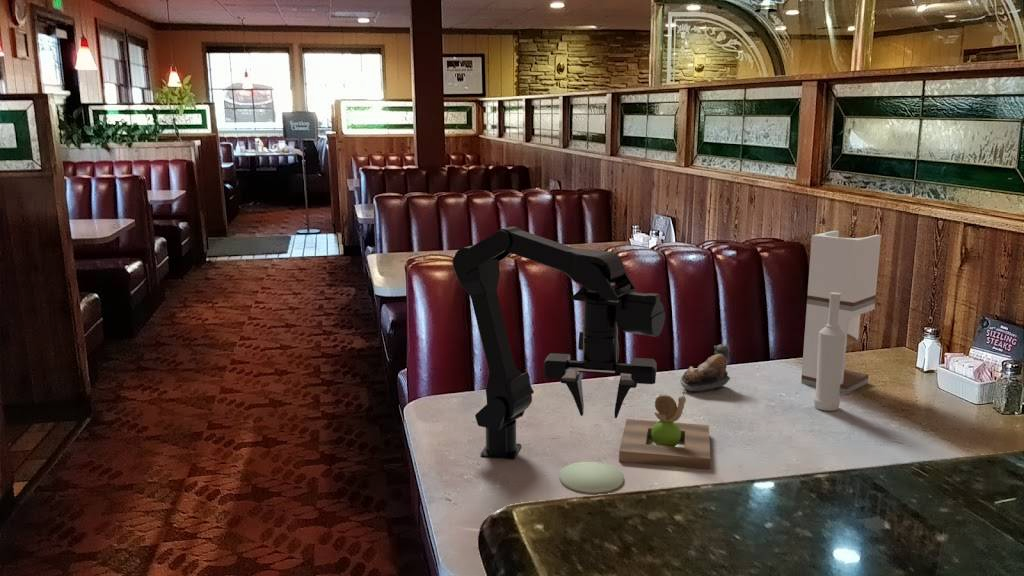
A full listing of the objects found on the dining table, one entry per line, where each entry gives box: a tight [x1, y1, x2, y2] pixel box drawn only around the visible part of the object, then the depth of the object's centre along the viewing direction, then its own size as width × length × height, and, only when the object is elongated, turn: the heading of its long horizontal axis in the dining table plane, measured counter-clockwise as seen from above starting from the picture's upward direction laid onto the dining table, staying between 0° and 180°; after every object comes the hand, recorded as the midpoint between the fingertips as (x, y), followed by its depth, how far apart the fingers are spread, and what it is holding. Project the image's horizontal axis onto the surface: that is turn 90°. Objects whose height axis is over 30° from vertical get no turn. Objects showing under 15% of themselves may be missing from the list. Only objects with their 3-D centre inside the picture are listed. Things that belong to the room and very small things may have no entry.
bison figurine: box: [680, 343, 731, 392], centre depth 179 cm, size 12×7×10 cm, turn 112°
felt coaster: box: [559, 461, 625, 494], centre depth 135 cm, size 11×11×1 cm
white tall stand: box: [800, 230, 882, 395], centre depth 180 cm, size 11×11×35 cm
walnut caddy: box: [618, 418, 711, 470], centre depth 147 cm, size 16×16×2 cm
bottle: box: [813, 292, 845, 412], centre depth 165 cm, size 5×5×25 cm
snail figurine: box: [651, 389, 688, 447], centre depth 146 cm, size 5×6×12 cm
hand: (598, 416), depth 134 cm, fingers open, 5 cm apart
